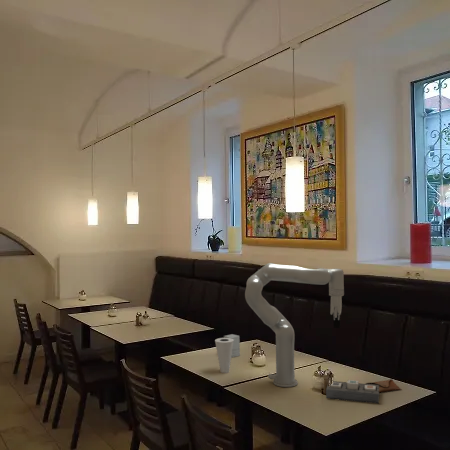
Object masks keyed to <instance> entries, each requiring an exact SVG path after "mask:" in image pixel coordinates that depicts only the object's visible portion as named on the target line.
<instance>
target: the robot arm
mask: <svg viewBox="0 0 450 450" xmlns="http://www.w3.org/2000/svg"><path fill="white" fill-rule="evenodd" d="M344 277H345V276H344V270H343V269H341V268H320V267H319V268H317V269H315V268H314V269H312V268H306V267H301V266H297V265H292V264H291V265H290V264H289V265H288V264H287V265H286V264H276V263H273V262H268V263H266V264H265V265H263V266H262V267H261V268H260V269H258V270H257V271H256V272H255V273H253V274H252V275H250V277H248V279H247V281H246V287H245V291H244V298H245V301H246V303H247V305H248V306H249V307H250V309H251V310H252V311H253V312H254V313H255V314H256V315H257V316H258V318H259V319H260V320H261V321H262V322H263V324H264V325H266V326H267V327H269V328H270V329H271V330H272V331H273V332H274V333H275V373H274V374H271V373H268V376H267V378H269V380H273V385H274V386H276V387H281V388H293V387H295V386H297V385H298V380H297V379H295V336H296V335H295V330H294V328H293V325H292V324H291V323H290V321H289V320H287V318H286V317H285V316H284V315H283V314H282V312H280V311H279V310H278V308H277V307H275V306H273V305H271V304H270V303H269V302H268V301H267V300H266V299H265V297H263V295H262V291H263V288H264V287H265V286H266V285H267V284H268V283H270V282H271V281H276V282H288V283H298V284H308V285H309V284H310V285H327V284H328V296H330V312H329V313H330V315H331V316H332V315H333V328H334V329H340V328H341V319H340V318H341V315H342V309H343V308H342V307H343V306H342V305H343V303H342V301H343V300H342V298H343V296H344V295H345V286H344V285H345V284H344V280H345V279H344Z"/></svg>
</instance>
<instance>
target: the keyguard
mask: <svg viewBox="0 0 450 450" xmlns="http://www.w3.org/2000/svg"><path fill="white" fill-rule="evenodd" d="M332 381H333V382H335V383H342V388H333V387H329V386H328V385H327V386H326V390H325V396H326V397H325V399H326V398H330V399H329V400H335V399H339V400H338V401H346V400H347V402H356V403H357V402H359V403H367V404H368V403H369V404H379V402H380V393H379V385H373V384H366V383H360V382H358V383H359V389H358V390H356V389H347V382H348V381H337V380H336V381H335V380H332ZM365 385H371V386H376V391H368V390H364V388H365Z"/></svg>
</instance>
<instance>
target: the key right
mask: <svg viewBox="0 0 450 450" xmlns="http://www.w3.org/2000/svg"><path fill="white" fill-rule="evenodd" d="M364 390H368V391H376V386H371V385H365V388H364Z"/></svg>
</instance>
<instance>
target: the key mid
mask: <svg viewBox="0 0 450 450" xmlns="http://www.w3.org/2000/svg"><path fill="white" fill-rule="evenodd" d="M346 382H347V389H356V390H358V389H359V383H360V382H359V380H353V379H347V381H346Z"/></svg>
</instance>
